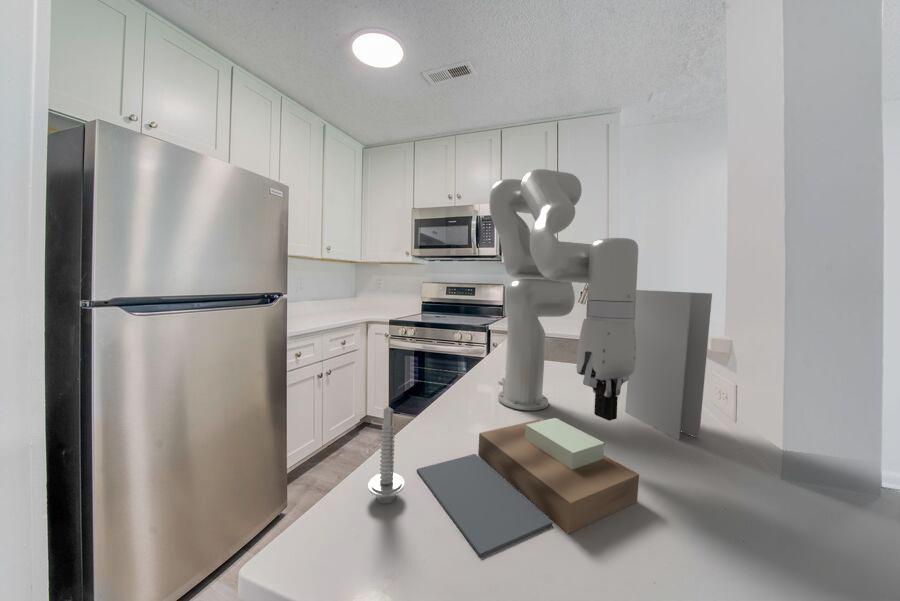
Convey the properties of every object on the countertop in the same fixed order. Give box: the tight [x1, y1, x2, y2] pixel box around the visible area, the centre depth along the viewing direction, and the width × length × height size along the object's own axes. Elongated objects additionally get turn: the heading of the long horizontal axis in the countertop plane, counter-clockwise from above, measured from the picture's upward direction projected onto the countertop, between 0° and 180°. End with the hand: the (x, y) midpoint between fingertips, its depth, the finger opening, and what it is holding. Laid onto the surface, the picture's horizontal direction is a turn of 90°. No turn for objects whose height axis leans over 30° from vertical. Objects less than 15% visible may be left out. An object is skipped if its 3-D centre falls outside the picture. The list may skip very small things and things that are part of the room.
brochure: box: [624, 289, 713, 441], centre depth 73 cm, size 14×6×30 cm, turn 14°
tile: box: [525, 417, 605, 469], centre depth 53 cm, size 10×7×2 cm
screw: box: [367, 406, 405, 504], centre depth 45 cm, size 13×5×5 cm
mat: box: [416, 453, 553, 558], centre depth 47 cm, size 18×11×1 cm, turn 29°
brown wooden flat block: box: [477, 419, 640, 535], centre depth 52 cm, size 20×14×4 cm
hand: (605, 416), depth 57 cm, fingers closed
